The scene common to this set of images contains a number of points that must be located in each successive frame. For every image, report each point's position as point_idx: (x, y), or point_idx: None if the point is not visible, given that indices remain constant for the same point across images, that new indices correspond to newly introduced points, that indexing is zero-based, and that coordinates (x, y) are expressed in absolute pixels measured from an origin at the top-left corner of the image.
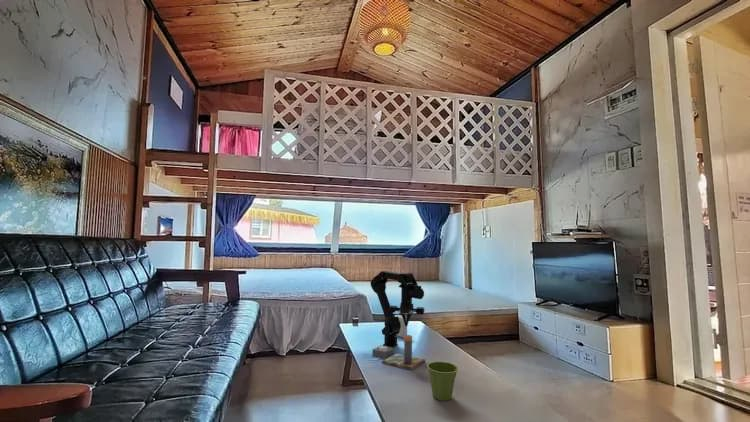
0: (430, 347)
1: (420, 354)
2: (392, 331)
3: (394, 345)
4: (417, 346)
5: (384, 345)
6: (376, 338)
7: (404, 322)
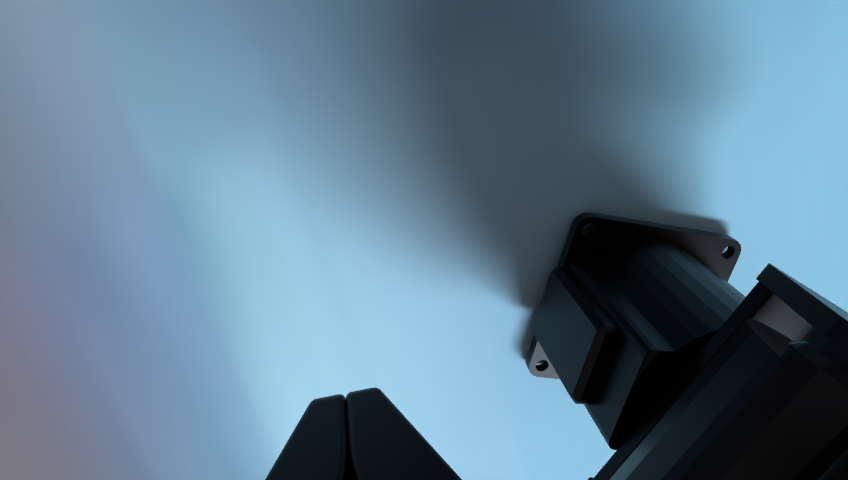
0: (33, 470)
1: (10, 70)
2: (731, 339)
3: (564, 267)
4: (236, 426)
5: (711, 233)
6: None
7: (446, 474)
